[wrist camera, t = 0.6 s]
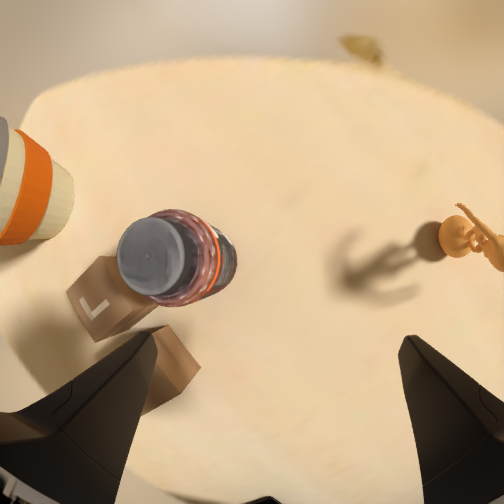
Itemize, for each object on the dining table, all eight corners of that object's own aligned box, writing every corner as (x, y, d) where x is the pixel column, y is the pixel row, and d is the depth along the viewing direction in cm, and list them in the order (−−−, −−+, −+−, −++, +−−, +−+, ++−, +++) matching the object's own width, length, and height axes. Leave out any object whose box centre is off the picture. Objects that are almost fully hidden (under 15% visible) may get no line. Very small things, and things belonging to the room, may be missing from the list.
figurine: (475, 251, 22) (555, 242, 10) (449, 295, 22) (533, 308, 10) (429, 195, 23) (507, 156, 11) (399, 239, 23) (482, 219, 11)
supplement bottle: (227, 219, 24) (189, 180, 13) (246, 284, 24) (221, 299, 13) (166, 239, 25) (93, 219, 13) (183, 302, 24) (117, 325, 13)
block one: (163, 391, 24) (136, 418, 18) (133, 351, 24) (99, 370, 18) (201, 367, 24) (180, 394, 18) (168, 324, 24) (138, 340, 18)
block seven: (127, 330, 25) (92, 344, 18) (102, 289, 25) (63, 293, 19) (163, 301, 24) (131, 310, 18) (135, 258, 25) (98, 255, 19)
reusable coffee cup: (67, 268, 25) (-43, 265, 11) (15, 237, 27) (-69, 225, 12) (101, 161, 26) (6, 102, 11) (42, 150, 27) (-34, 110, 12)
